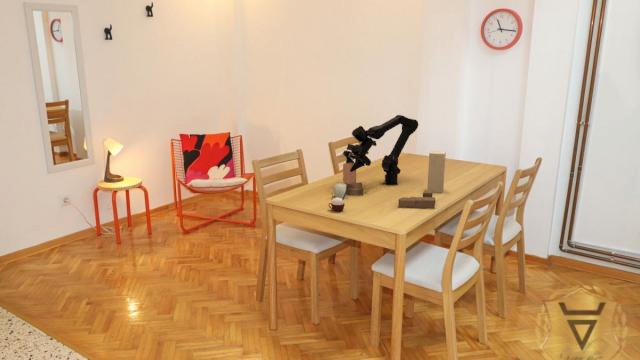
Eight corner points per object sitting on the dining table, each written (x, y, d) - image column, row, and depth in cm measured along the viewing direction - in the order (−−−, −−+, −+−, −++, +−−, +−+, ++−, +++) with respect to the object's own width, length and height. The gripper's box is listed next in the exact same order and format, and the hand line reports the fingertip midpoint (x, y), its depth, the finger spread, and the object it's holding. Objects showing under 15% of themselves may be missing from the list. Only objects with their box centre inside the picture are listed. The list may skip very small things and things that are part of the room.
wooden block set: (437, 198, 249) (398, 197, 251) (436, 209, 250) (398, 208, 252) (433, 188, 265) (398, 187, 267) (433, 199, 267) (397, 198, 269)
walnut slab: (362, 187, 287) (362, 182, 286) (363, 195, 273) (363, 189, 272) (336, 187, 287) (336, 182, 286) (336, 195, 274) (336, 189, 273)
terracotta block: (350, 180, 282) (350, 162, 279) (356, 182, 278) (356, 164, 275) (343, 181, 280) (343, 163, 277) (348, 183, 275) (348, 165, 273)
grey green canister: (346, 195, 272) (346, 182, 271) (346, 199, 267) (346, 186, 265) (334, 195, 273) (334, 182, 271) (334, 199, 267) (334, 186, 265)
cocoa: (327, 211, 249) (325, 187, 246) (333, 207, 254) (332, 183, 251) (344, 213, 244) (343, 189, 241) (351, 209, 250) (349, 185, 246)
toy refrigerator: (444, 189, 282) (446, 151, 276) (442, 193, 275) (444, 154, 269) (429, 188, 284) (430, 150, 279) (427, 192, 277) (428, 153, 272)
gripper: (345, 135, 282) (328, 158, 279) (366, 140, 267) (349, 164, 264) (356, 148, 289) (340, 170, 286) (378, 153, 273) (361, 177, 271)
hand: (347, 170), depth 276 cm, fingers closed on terracotta block, 5 cm apart
